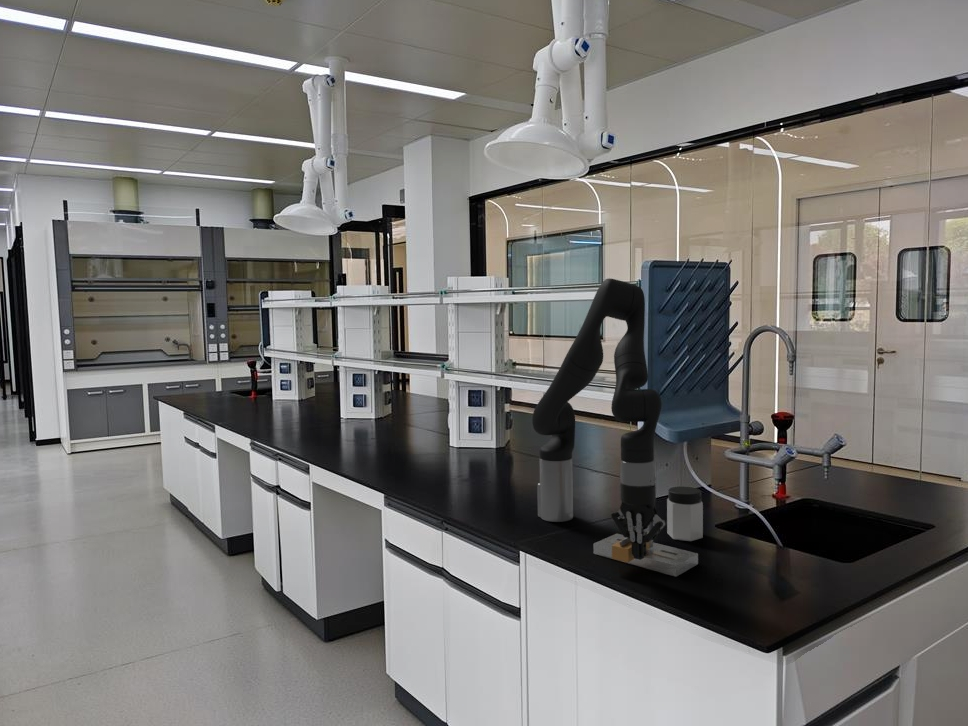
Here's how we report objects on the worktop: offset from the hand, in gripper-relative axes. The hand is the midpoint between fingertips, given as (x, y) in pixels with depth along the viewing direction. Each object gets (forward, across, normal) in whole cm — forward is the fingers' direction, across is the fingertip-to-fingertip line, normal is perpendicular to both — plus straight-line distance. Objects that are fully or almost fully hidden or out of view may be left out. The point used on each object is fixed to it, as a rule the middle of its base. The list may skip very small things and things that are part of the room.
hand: (639, 558), depth 151 cm
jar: (+4, -5, +31) cm, 32 cm away
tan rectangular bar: (+1, -4, +5) cm, 7 cm away
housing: (+4, -5, +10) cm, 12 cm away
